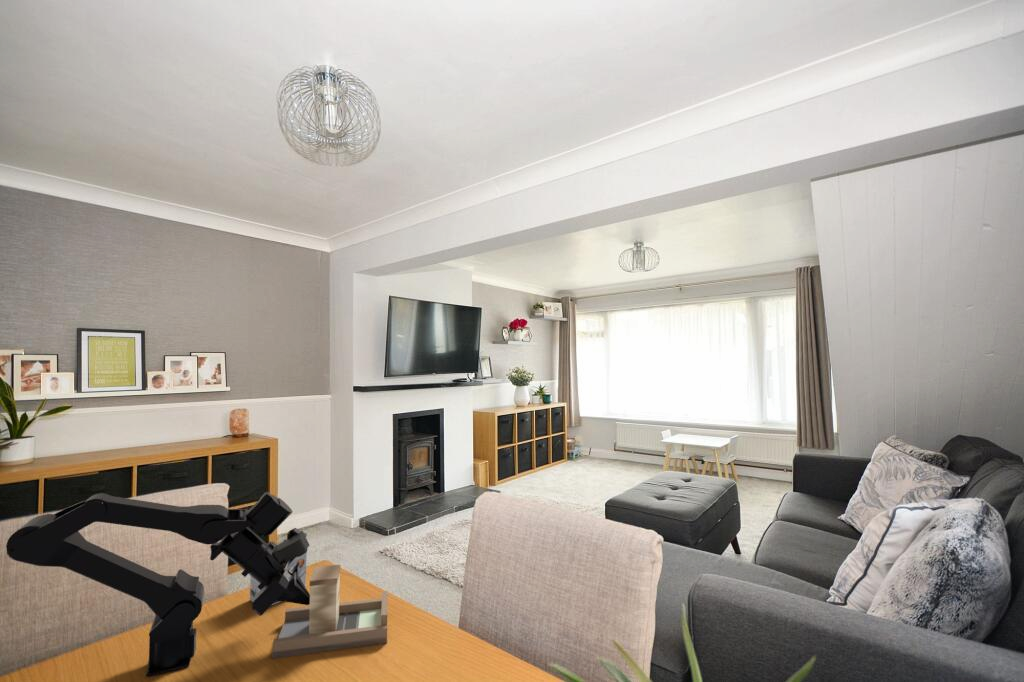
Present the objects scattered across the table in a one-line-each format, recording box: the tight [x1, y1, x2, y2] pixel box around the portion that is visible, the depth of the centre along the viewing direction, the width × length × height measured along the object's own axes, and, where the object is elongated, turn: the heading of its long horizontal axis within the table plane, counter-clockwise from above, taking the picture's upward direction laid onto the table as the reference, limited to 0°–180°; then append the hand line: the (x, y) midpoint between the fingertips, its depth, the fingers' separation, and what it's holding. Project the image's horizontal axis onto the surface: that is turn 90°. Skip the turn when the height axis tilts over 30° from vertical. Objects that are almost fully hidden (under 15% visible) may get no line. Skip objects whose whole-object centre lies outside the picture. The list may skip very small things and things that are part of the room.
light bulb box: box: [249, 551, 308, 607], centre depth 113 cm, size 11×7×11 cm, turn 143°
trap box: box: [272, 590, 389, 659], centre depth 98 cm, size 21×12×5 cm, turn 104°
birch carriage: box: [308, 564, 341, 634], centre depth 98 cm, size 5×6×11 cm
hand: (310, 602), depth 97 cm, fingers closed, pressing on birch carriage
